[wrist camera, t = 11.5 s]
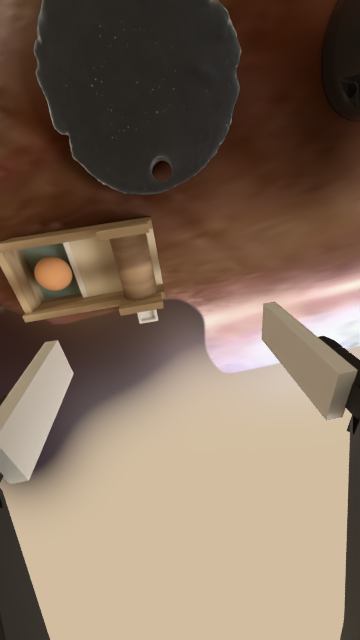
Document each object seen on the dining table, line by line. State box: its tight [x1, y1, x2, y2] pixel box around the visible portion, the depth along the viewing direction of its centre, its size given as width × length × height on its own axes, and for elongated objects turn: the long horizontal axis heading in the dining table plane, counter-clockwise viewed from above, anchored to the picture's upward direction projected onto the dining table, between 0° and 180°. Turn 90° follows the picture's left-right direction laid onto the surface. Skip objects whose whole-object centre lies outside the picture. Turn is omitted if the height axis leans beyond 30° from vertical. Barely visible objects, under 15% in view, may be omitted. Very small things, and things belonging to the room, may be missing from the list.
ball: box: [34, 257, 72, 291], centre depth 34 cm, size 5×5×5 cm
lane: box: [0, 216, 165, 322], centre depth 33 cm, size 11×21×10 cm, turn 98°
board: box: [34, 0, 242, 195], centre depth 27 cm, size 22×22×5 cm
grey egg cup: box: [137, 310, 158, 324], centre depth 40 cm, size 3×3×4 cm
